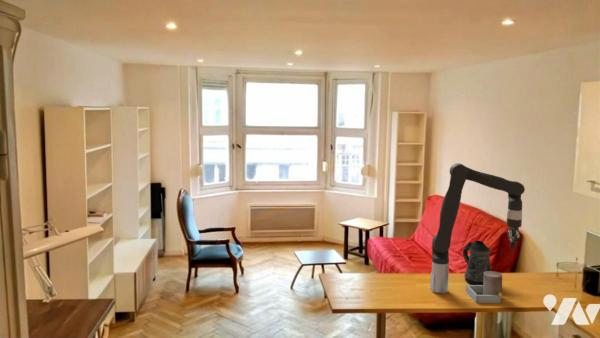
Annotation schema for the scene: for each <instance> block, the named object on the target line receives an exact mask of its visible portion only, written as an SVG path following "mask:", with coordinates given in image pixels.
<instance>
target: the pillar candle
mask: <svg viewBox="0 0 600 338" xmlns="http://www.w3.org/2000/svg"><path fill="white" fill-rule="evenodd" d="M502 290H503V274H502V273H501V272H499V271H495V270H494V271H492V270H491V271H486V272H484V279H483V293H482V295H499V293H503V291H502Z"/></svg>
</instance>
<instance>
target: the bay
mask: <svg viewBox="0 0 600 338" xmlns="http://www.w3.org/2000/svg"><path fill="white" fill-rule="evenodd" d="M465 293H466V294H467V295H468V296H469V297H470V298H471V299H472V300H473V302H474V303H477V304H484V303H485V304H501V303H502V295H503V294H502V293H503V292H502V293H499V295H483V285H472V284H466V285H465ZM478 293H479V294H478ZM480 293H481V294H480Z"/></svg>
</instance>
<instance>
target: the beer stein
mask: <svg viewBox="0 0 600 338" xmlns="http://www.w3.org/2000/svg"><path fill="white" fill-rule="evenodd" d="M468 251H469V252H468ZM491 252H492V251H491V248H490V247H489V246H487V245H486V244H485V243H484V241H482V240H474V242H473V241H470V242H468V243H467V245H465V246H463V249H462V256H463V259H464V262H465V263H466V264H467V267H466V269H465V273H464V280H465V282H466V283H467V284H468V285H483V279H484V272H486V271H492V267H491V261H490V259H491V258H490V254H491ZM468 253H469V254H468Z"/></svg>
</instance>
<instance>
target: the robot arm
mask: <svg viewBox="0 0 600 338" xmlns="http://www.w3.org/2000/svg"><path fill="white" fill-rule="evenodd" d="M449 176H450V178H449V185H448V189H447V191H446V192H445V196H444V198H443V200H442V203H441V207H440V214H439V225H438V230H437V234H435V235H434V236H433V238H432V242H431V259H432V261H431V273H430V283H429V285H430V288H429V289H430V290H431V292H432V293H435V294H446V293H448V292H449V269H450V256H449V249H450V247H451V242H452V233H453V229H454V226H455V224H456V220H457V217H458V213H459V209H460V204H461V199H462V193H463V189H464V186H465V183H466V181H471V182H475V183H477V184H479V185H482V186H484V187H488V188H491V189H494V190H498V191H502V192H505V193H507V198H508V202H507V213H506V226H507V227H508V229H506V233H507V239H508V240H509V248H510V249H516V243H518V241H520V238H521V237H522V236H521V235H522V234H520V233H519V231H520V228H521V227H522V225H523V224H522V223H523V221H522V220H523V201H522V195H523V194H524V193H525V190H526V189H525V185H524V184H523V183H520V182H519V181H516V180H515V181H512V180H510V179H509V180H508V179H506V178H503V177H502V176H501V177H500V176H497V175H494V174H490V173H485V172H482V171H478V170H475V169H473V168H469V167H468V166H466V165H464V164H462V163H454V164H453V165H451V167H450V168H449Z"/></svg>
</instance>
